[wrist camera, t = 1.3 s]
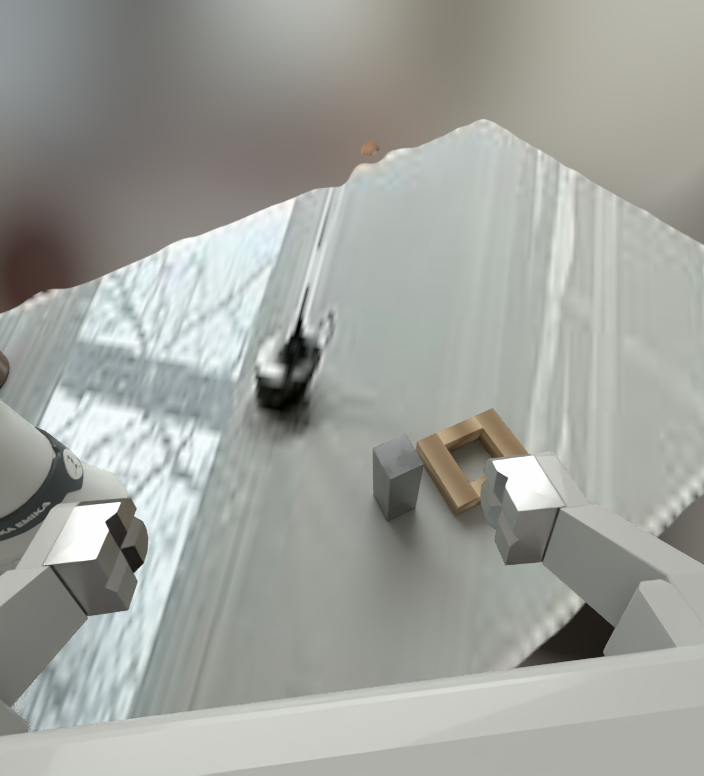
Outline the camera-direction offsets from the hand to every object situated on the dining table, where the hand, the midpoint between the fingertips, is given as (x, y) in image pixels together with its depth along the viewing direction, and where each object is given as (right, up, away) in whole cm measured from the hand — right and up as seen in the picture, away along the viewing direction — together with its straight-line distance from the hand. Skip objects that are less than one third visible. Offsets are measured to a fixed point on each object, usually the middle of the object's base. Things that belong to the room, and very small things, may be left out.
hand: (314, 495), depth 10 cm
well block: (+17, -8, +50) cm, 53 cm away
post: (+6, -12, +47) cm, 49 cm away
